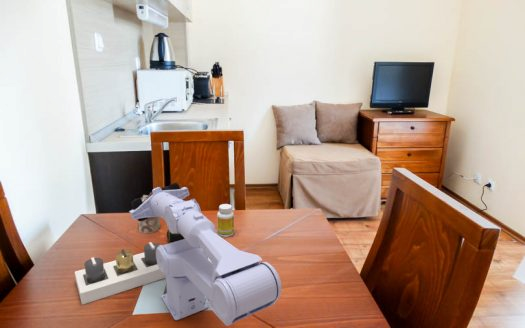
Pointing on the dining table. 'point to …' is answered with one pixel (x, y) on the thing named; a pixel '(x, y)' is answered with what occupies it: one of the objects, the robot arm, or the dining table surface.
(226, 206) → the supplement bottle
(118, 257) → the brass knob middle
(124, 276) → the control deck
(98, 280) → the black knob
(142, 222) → the figurine
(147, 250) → the black knob
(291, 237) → the dining table surface
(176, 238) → the tape measure
